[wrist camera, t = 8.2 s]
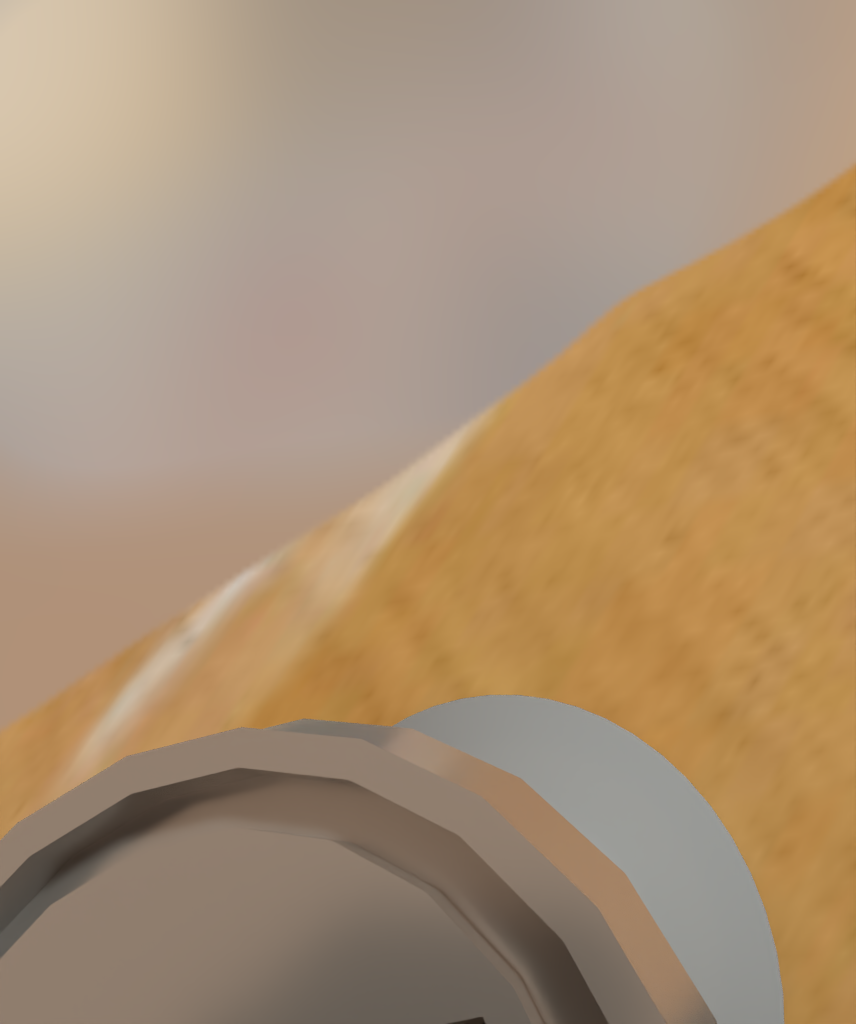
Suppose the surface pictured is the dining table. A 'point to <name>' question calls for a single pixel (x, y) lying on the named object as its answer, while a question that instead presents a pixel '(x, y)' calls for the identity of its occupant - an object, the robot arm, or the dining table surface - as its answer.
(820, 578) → the dining table surface
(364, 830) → the beer can
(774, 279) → the dining table surface
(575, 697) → the dining table surface
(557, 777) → the coaster
